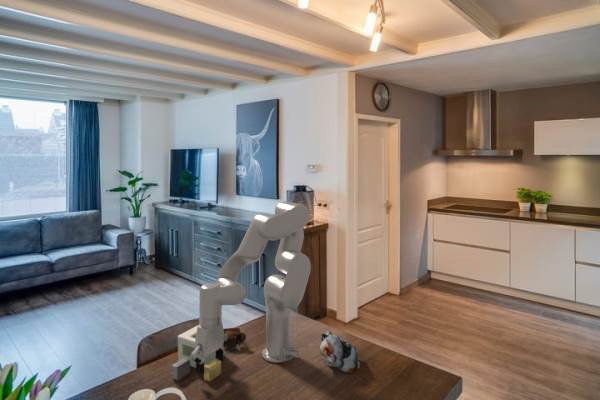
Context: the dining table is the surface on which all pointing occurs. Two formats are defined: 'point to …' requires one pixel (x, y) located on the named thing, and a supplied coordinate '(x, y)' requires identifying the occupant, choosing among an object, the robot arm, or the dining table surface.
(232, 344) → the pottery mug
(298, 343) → the dining table surface
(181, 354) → the cream slotted box
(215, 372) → the block
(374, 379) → the dining table surface
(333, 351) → the lucky cat figurine
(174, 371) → the block
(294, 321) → the dining table surface
